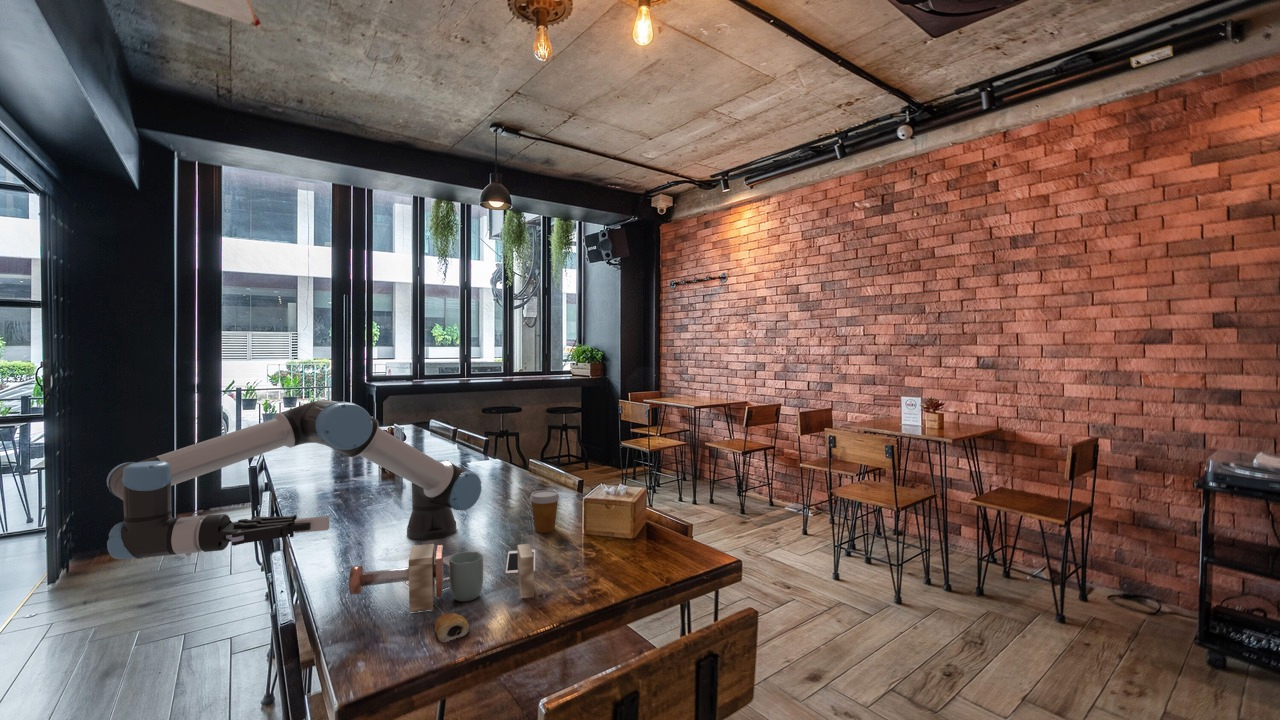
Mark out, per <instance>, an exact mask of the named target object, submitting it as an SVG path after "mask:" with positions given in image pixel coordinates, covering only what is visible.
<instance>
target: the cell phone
mask: <svg viewBox="0 0 1280 720" xmlns="http://www.w3.org/2000/svg"><path fill="white" fill-rule="evenodd" d="M531 550H532V553H533V556H534V573H535V572H536V549H531ZM505 566H506V567H505V574H506V575H507V574H510V573H511V574H518V550H509V551H508V552H507V560H506V565H505ZM511 574H510V575H511Z"/></svg>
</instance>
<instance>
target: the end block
mask: <svg viewBox="0 0 1280 720" xmlns="http://www.w3.org/2000/svg"><path fill="white" fill-rule="evenodd" d="M532 550H533V549H532V547H531V544H530V543H524V544H523V543H522V544H517V551H518V573H517V586H518V589H519V590H518V591H519V594H520V599H521V600H522V598H524V599H529V598H534V597H535V579H534V578H535V574H534V573H535V572H534V556H533V553H532Z"/></svg>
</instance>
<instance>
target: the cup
mask: <svg viewBox="0 0 1280 720" xmlns="http://www.w3.org/2000/svg"><path fill="white" fill-rule="evenodd" d="M454 554H455V555H453V554H452V555H453V556H451V557H450V560H449V567H448V568H449V569H448V570H449V573H448V574H449V575H448V576H449V577H450V580H449V586H450V591H451V594H452V597H453V599H455V600H456V601H458V602H461V603H464V602H465V603H467V602H471V601H473V600H475V599H477V598H478V597H479V596H480V595H481V593H482V589H483V583H484V557H483V554H482V553H481V552H479V551H474V550H469V551H462V552H458V553H454Z"/></svg>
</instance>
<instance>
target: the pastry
mask: <svg viewBox="0 0 1280 720" xmlns="http://www.w3.org/2000/svg"><path fill="white" fill-rule="evenodd" d="M434 624H435V626H434V631H435V633H436V634H437V635H436V636H437V638H438V640H439V642H440V641H448V642H450V641H449V640H452V641H454V640H457V639H460V638H463V637H465V636H466V635H467V634H468V632H469V630H470V624H469V621H468V620H467V619H466V618H465V617H464V616H463V615H460V614H458V613H456V612H450V613H448V612H447V613H446V612H445V613H442V614H440V615H439V616H438V617H437V618H436V620H435V623H434ZM456 638H457V639H456ZM453 639H454V640H453Z"/></svg>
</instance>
